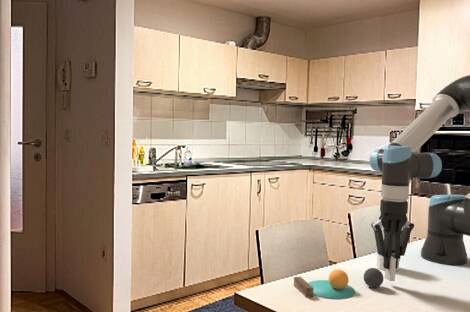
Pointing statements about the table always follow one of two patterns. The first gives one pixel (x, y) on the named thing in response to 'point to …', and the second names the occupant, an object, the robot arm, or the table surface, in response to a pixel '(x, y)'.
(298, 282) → the wall
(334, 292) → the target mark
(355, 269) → the table surface
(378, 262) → the white cup
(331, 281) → the object ball
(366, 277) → the dark grey sphere
